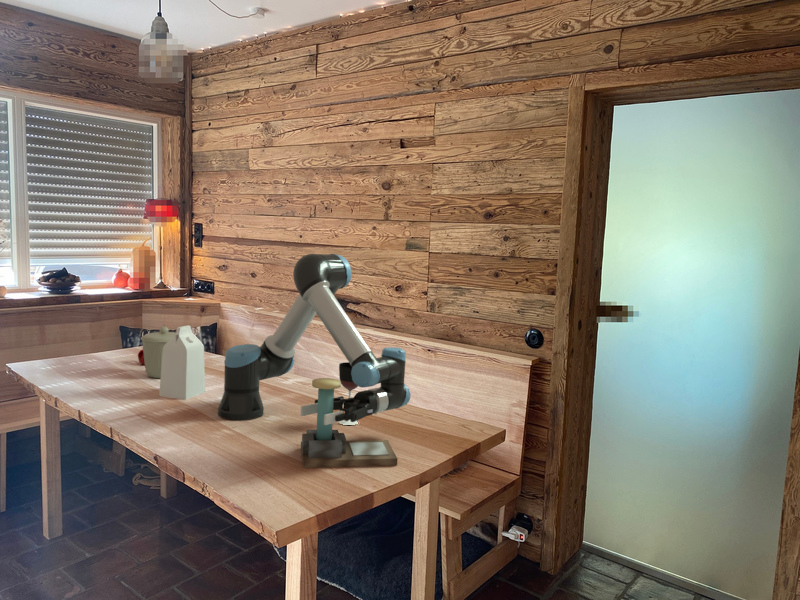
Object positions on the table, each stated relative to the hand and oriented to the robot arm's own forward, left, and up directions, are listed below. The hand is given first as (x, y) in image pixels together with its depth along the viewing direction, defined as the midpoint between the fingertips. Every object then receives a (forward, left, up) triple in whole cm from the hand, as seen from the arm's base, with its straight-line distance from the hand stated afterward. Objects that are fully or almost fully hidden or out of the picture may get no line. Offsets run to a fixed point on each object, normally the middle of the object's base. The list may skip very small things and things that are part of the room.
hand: (312, 415), depth 161 cm
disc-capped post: (+4, +3, -11) cm, 12 cm away
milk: (-44, +71, -13) cm, 84 cm away
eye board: (+11, +3, -13) cm, 17 cm away
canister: (-56, +100, -13) cm, 115 cm away
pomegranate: (-66, +123, -13) cm, 140 cm away
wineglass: (+15, +34, -13) cm, 39 cm away
